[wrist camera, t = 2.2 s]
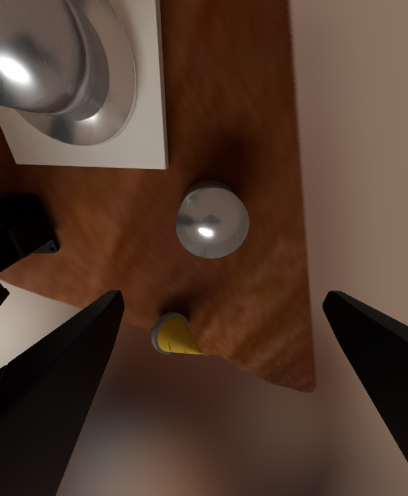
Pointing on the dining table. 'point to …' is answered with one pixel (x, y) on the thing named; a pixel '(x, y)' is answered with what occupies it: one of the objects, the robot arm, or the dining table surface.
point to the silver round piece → (51, 60)
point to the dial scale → (107, 100)
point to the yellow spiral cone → (174, 335)
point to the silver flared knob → (211, 220)
